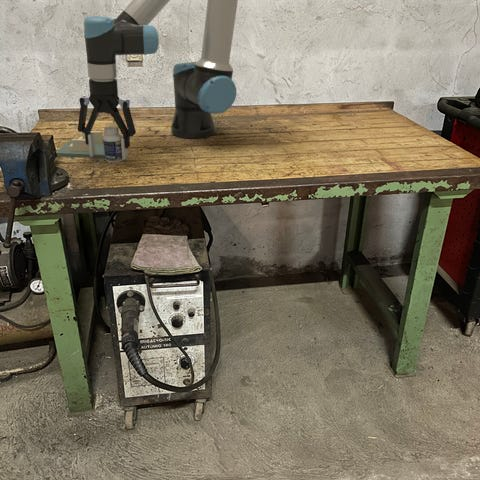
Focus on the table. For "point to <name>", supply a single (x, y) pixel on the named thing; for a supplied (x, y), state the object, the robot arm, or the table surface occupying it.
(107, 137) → the pill bottle
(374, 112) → the table surface
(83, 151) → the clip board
